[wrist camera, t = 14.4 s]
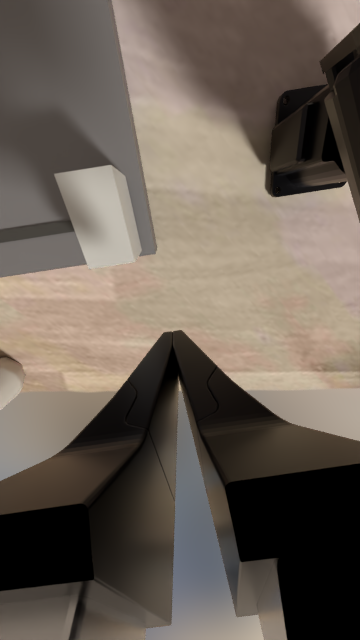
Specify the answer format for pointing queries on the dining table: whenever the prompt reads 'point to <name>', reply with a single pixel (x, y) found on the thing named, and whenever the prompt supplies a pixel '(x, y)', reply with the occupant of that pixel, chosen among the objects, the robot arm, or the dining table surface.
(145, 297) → the dining table surface
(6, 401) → the salt shaker
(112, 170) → the block
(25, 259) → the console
